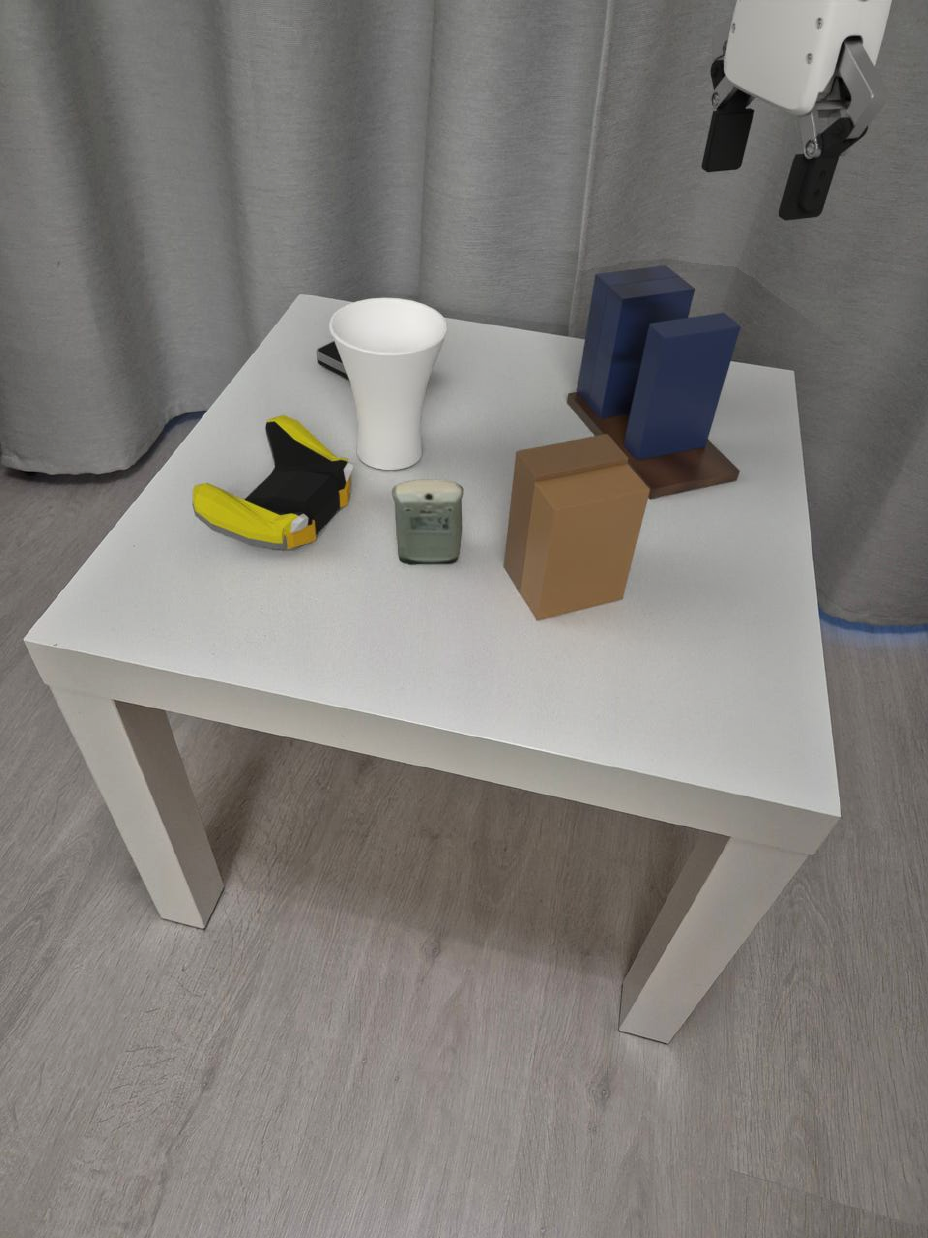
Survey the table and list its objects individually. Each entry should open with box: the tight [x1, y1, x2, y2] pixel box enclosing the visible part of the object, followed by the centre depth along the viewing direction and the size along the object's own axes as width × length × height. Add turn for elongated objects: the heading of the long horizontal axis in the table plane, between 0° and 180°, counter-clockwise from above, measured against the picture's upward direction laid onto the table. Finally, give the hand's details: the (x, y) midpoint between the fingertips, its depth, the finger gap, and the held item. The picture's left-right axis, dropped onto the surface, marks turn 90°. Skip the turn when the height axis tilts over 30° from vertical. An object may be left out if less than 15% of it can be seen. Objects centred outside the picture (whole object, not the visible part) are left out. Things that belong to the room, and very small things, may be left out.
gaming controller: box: [192, 414, 355, 551], centre depth 78 cm, size 15×6×10 cm
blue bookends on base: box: [566, 264, 741, 500], centre depth 86 cm, size 10×18×14 cm, turn 22°
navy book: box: [624, 312, 741, 460], centre depth 84 cm, size 8×3×13 cm, turn 112°
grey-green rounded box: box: [391, 478, 465, 566], centre depth 74 cm, size 6×5×8 cm
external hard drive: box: [316, 340, 349, 381], centre depth 97 cm, size 7×11×2 cm, turn 51°
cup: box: [328, 297, 448, 471], centre depth 82 cm, size 10×10×14 cm
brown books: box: [503, 434, 650, 622], centre depth 71 cm, size 8×7×12 cm
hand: (757, 192), depth 63 cm, fingers open, 9 cm apart
